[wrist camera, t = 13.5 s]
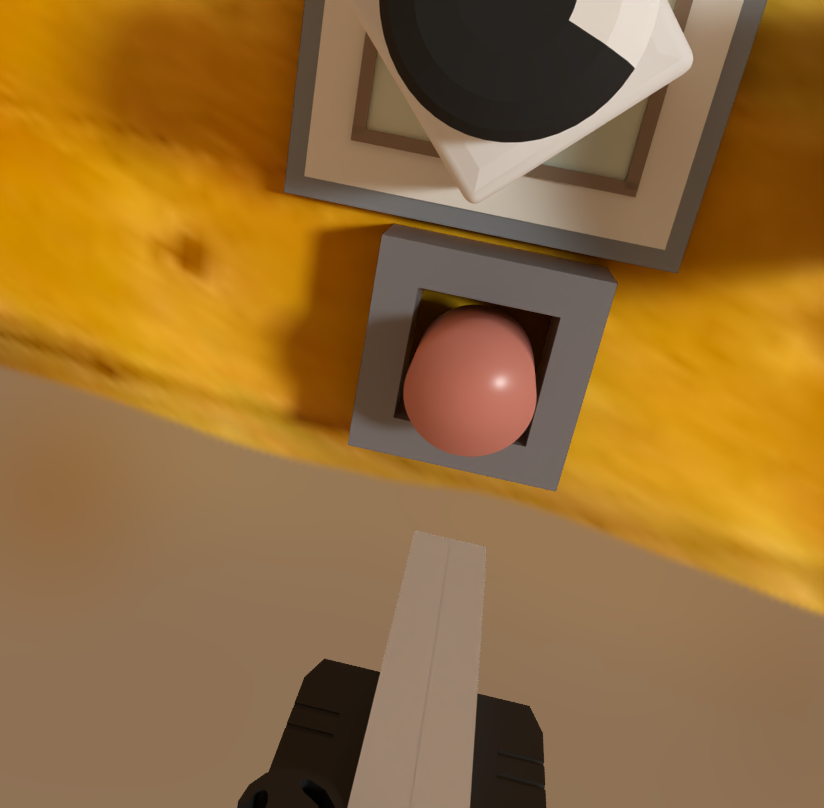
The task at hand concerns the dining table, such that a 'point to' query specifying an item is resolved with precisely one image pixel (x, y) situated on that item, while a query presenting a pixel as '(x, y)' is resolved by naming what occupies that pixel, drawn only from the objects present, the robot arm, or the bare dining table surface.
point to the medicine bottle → (521, 74)
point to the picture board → (547, 183)
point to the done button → (471, 382)
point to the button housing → (495, 283)
